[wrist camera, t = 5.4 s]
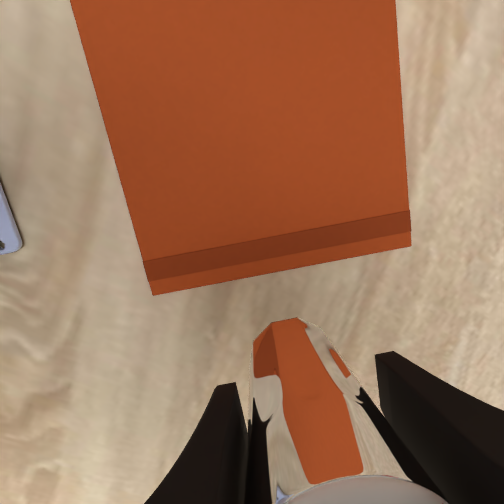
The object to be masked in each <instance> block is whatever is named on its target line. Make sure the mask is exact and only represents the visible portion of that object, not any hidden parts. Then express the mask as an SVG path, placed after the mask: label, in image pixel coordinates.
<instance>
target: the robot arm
mask: <svg viewBox="0 0 504 504" xmlns="http://www.w3.org/2000/svg"><path fill="white" fill-rule="evenodd" d="M0 241H2V242H3V243H4V244H5V248H2V247H0V255H2V254H7V253H13V252H15V251H17V250H19V249H20V248H21V247H22V240H21V237H20V234H19V232H18V229H17V226H16V223H15V221H14V218H13V215H12V213H11V210H10V207H9V205H8V202H7V199H6V197H5V194H4V191H3V188H2V186H1V183H0ZM375 361H376V370H377V380H378V389H379V398H380V407H381V410H382V412H383V414H384V416H385V419H386V420H387V421H388V422H389V424H390V425H391V426H392V428H393V429H394V430H395V431H396V433H397V434H398V435H399V437H400V438H401V439H402V441H403V442H404V443H405V445H406V446H407V447H408V449H409V450H410V451H411V453H412V454H413V455H414V456H415V458H416V459H417V460H418V462H419V463H420V464H421V466H422V467H423V468H424V470H425V471H426V472H427V474H428V475H429V476H430V478H431V479H432V480H433V482H434V483H435V484H436V485H437V487H438V488H439V489H440V491H441V492H442V493H443V495H444V496H445V497H446V499H447V500H448V501H449V503H450V504H504V411H503V410H501V409H498V408H496V407H494V406H491V405H489V404H487V403H485V402H483V401H481V400H479V399H477V398H475V397H473V396H471V395H469V394H467V393H465V392H463V391H461V390H459V389H457V388H455V387H453V386H451V385H450V384H448V383H446V382H444V381H443V380H441V379H439V378H437V377H436V376H434V375H432V374H430V373H429V372H427V371H425V370H424V369H422V368H421V367H419V366H417V365H416V364H414V363H412V362H411V361H409V360H408V359H406V358H404V357H403V356H401V355H399V354H398V353H396V352H394V351H391V352H386V353H381V354H376V355H375ZM247 450H248V433H247V428H246V424H245V420H244V416H243V411H242V407H241V403H240V399H239V394H238V390H237V386H236V382H233V383H228V384H223V385H218V386H217V387H216V388H215V389H214V392H213V394H212V396H211V399H210V401H209V403H208V405H207V407H206V409H205V411H204V414H203V416H202V418H201V419H200V421H199V423H198V425H197V427H196V429H195V431H194V433H193V434H192V436H191V438H190V440H189V441H188V443H187V445H186V446H185V448H184V450H183V451H182V453H181V455H180V456H179V458H178V459H177V461H176V462H175V464H174V465H173V467H172V468H171V470H170V471H169V473H168V474H167V475H166V477H165V478H164V479H163V481H162V482H161V484H160V485H159V486H158V488H157V489H156V490H155V491H154V492H153V494H152V495H151V496H150V497H149V499H148V500H147V501H146V502H145V503H144V504H244V492H245V477H246V466H247Z"/></svg>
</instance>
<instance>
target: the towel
mask: <svg viewBox="0 0 504 504" xmlns="http://www.w3.org/2000/svg"><path fill="white" fill-rule="evenodd" d="M70 2H71V6H72V9H73V13H74V17H75V20H76V24H77V27H78V31H79V34H80V38H81V41H82V45H83V49H84V52H85V56H86V59H87V63H88V66H89V70H90V74H91V77H92V81H93V84H94V88H95V91H96V95H97V99H98V102H99V106H100V109H101V113H102V116H103V120H104V123H105V127H106V131H107V134H108V138H109V141H110V145H111V148H112V152H113V156H114V159H115V163H116V166H117V170H118V173H119V177H120V181H121V184H122V188H123V191H124V195H125V198H126V202H127V205H128V209H129V213H130V216H131V220H132V223H133V227H134V230H135V234H136V238H137V241H138V245H139V248H140V252H141V255H142V259H143V264H144V268H145V272H146V275H147V279H148V282H149V284H150V287H151V291H152V295H153V296H154V295H159V294H164V293H169V292H175V291H180V290H185V289H190V288H195V287H201V286H206V285H211V284H216V283H222V282H227V281H232V280H237V279H242V278H248V277H253V276H258V275H263V274H268V273H274V272H279V271H284V270H289V269H295V268H300V267H305V266H310V265H315V264H321V263H326V262H331V261H336V260H341V259H347V258H352V257H357V256H362V255H368V254H373V253H378V252H383V251H388V250H394V249H399V248H404V247H409V246H411V232H410V231H411V220H410V210H409V201H408V186H407V171H406V156H405V141H404V125H403V110H402V95H401V80H400V65H399V50H398V34H397V19H396V4H395V0H70Z"/></svg>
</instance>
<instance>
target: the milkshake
mask: <svg viewBox="0 0 504 504" xmlns="http://www.w3.org/2000/svg"><path fill="white" fill-rule="evenodd" d="M244 504H450V503H449V501H448V500H447V499H446V497H445V496H444V495H443V493H442V492H441V491H440V489H439V488H438V487H437V485H436V484H435V483H434V482H433V480H432V479H431V478H430V476H429V475H428V474H427V472H426V471H425V470H424V468H423V467H422V466H421V464H420V463H419V462H418V460H417V459H416V458H415V456H414V455H413V454H412V453H411V451H410V450H409V449H408V447H407V446H406V445H405V443H404V442H403V441H402V439H401V438H400V437H399V435H398V434H397V433H396V431H395V430H394V429H393V428H392V426H391V425H390V424H389V422H388V421H387V420H386V419H385V417H384V416H383V415H382V413H381V412H380V411H379V409H378V408H377V407H376V405H375V404H374V403H373V401H372V400H371V398H370V397H369V396H368V394H367V393H366V391H365V390H364V388H363V387H362V386H361V384H360V383H359V381H358V380H357V378H356V377H355V376H354V374H353V373H352V371H351V370H350V368H349V367H348V366H347V364H346V363H345V361H344V360H343V358H342V357H341V356H340V354H339V353H338V351H337V350H336V348H335V347H334V345H333V344H332V343H331V341H330V340H329V338H328V337H327V335H326V334H325V333H324V331H323V330H322V328H321V327H319V326H317V325H314V324H312V323H309V322H307V321H305V320H302V319H300V318H297V317H296V318H291V319H286V320H281V321H276V322H271V323H270V324H269V325H268V326H267V327H266V328H265V329H264V330H263V331H262V332H261V333H260V334H259V335H258V336H257V337H256V338H255V339H254V340H253V344H252V351H251V358H250V364H249V404H248V450H247V466H246V477H245V492H244Z"/></svg>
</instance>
